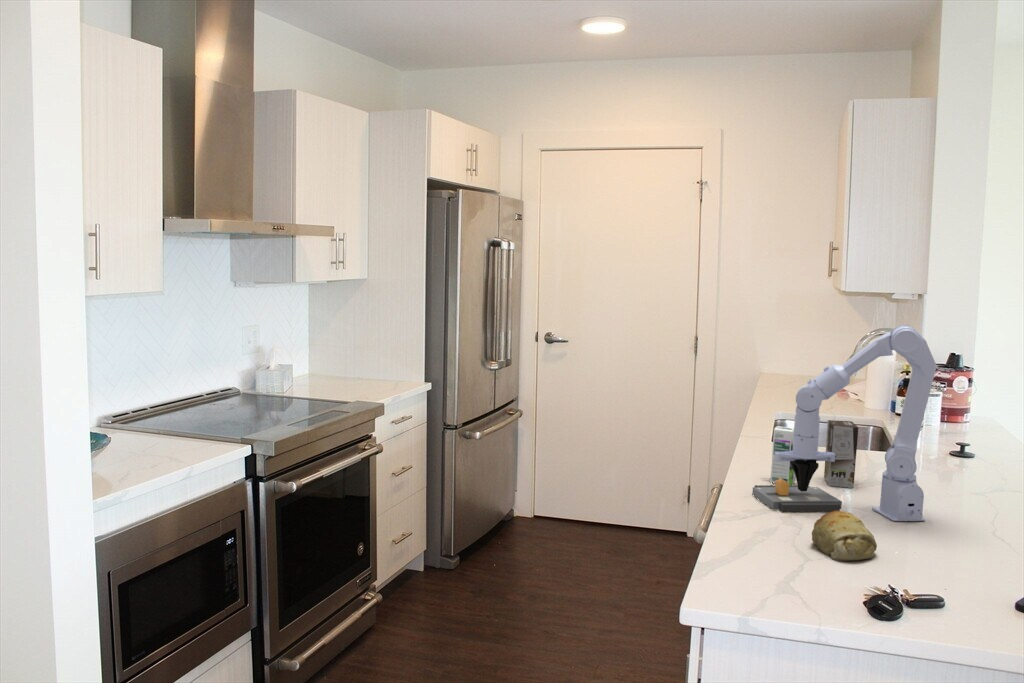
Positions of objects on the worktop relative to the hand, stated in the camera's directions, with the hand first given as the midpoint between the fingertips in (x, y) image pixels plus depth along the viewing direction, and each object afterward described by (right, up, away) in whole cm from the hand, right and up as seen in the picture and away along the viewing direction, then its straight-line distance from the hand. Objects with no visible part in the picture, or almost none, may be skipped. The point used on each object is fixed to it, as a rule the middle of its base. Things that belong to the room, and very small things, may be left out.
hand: (802, 490), depth 207 cm
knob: (-5, -1, -1) cm, 5 cm away
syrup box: (+1, -1, +19) cm, 19 cm away
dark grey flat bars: (-2, -3, 0) cm, 3 cm away
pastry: (-3, -7, -33) cm, 34 cm away
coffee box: (+16, -2, +19) cm, 25 cm away
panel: (-2, -3, 0) cm, 3 cm away
